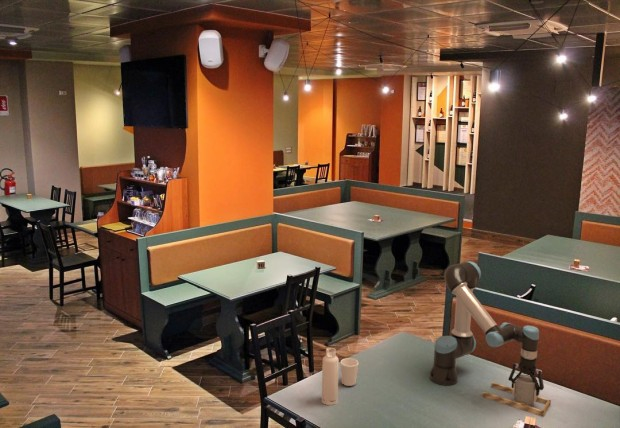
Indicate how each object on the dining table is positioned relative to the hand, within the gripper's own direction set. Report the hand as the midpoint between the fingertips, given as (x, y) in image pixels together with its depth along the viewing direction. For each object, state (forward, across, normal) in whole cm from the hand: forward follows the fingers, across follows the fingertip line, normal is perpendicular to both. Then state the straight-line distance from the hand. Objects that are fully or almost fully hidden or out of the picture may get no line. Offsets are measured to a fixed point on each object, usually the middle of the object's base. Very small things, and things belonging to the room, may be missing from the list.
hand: (524, 397), depth 277 cm
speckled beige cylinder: (+2, 0, 0) cm, 2 cm away
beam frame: (+3, -4, 0) cm, 5 cm away
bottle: (+3, -79, -61) cm, 100 cm away
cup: (+3, -81, -40) cm, 90 cm away
